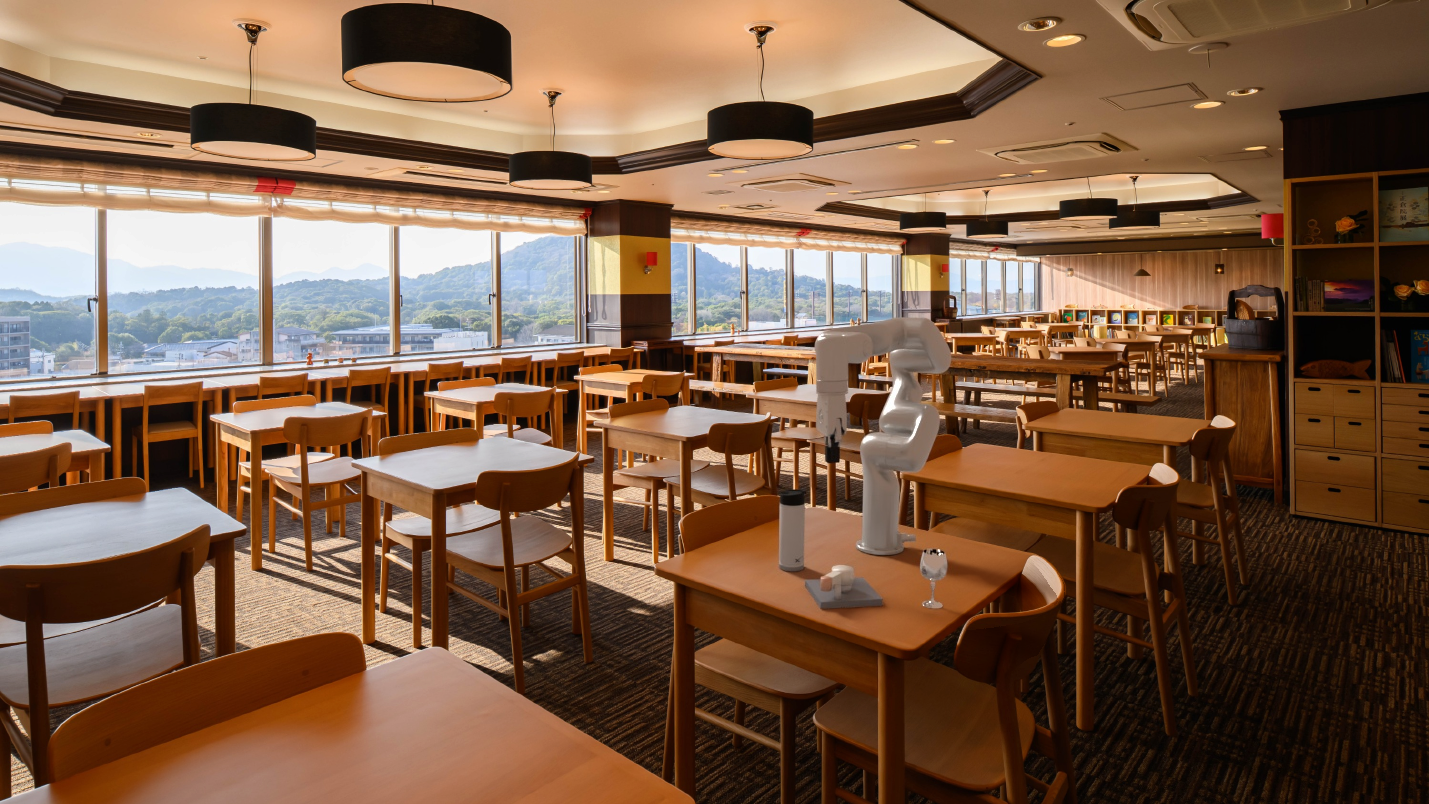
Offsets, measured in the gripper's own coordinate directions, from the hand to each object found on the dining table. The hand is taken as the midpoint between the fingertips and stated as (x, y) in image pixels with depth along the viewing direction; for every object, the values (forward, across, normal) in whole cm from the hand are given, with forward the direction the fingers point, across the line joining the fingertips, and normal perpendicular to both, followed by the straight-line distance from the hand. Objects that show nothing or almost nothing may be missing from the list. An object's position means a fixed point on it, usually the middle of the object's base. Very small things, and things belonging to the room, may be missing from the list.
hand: (832, 462), depth 190 cm
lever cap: (+24, +18, -5) cm, 30 cm away
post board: (+27, +16, -3) cm, 32 cm away
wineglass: (+28, +24, +15) cm, 40 cm away
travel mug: (+28, -5, -9) cm, 30 cm away
